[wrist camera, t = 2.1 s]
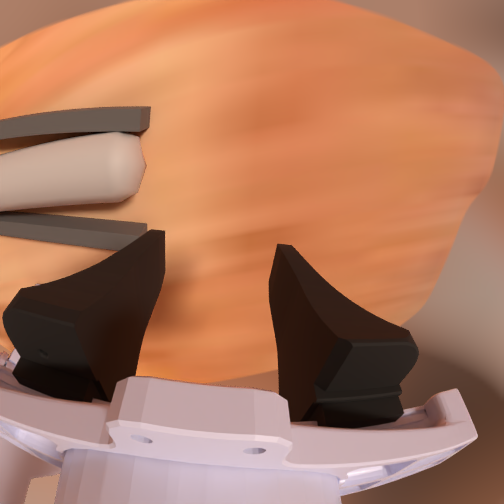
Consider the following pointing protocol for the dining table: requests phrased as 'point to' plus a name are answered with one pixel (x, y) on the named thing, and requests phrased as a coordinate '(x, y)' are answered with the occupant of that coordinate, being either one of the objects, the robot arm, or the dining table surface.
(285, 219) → the dining table surface
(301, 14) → the dining table surface
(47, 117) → the guide rails
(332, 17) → the dining table surface
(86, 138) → the tube
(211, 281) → the dining table surface
